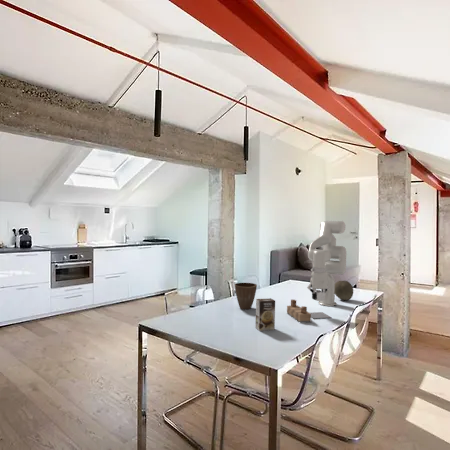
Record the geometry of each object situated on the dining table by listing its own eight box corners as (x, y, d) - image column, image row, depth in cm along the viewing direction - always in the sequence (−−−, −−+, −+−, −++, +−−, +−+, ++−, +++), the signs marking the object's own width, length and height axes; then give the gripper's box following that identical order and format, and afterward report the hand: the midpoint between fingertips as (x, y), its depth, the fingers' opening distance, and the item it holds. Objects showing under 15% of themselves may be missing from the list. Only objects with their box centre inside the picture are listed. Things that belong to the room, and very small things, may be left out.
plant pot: (255, 311, 222) (255, 287, 221) (232, 310, 225) (232, 286, 224) (257, 306, 236) (257, 283, 236) (236, 304, 239) (236, 282, 239)
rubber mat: (305, 313, 219) (305, 312, 219) (322, 313, 221) (322, 312, 221) (313, 319, 207) (313, 318, 207) (331, 318, 210) (331, 317, 210)
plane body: (286, 313, 219) (287, 299, 219) (297, 313, 220) (297, 299, 220) (299, 322, 199) (299, 307, 199) (310, 322, 201) (310, 307, 201)
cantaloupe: (350, 298, 265) (350, 279, 265) (355, 302, 251) (355, 282, 251) (331, 297, 267) (332, 278, 267) (335, 302, 253) (336, 281, 253)
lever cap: (312, 298, 217) (312, 289, 217) (319, 298, 218) (319, 289, 218) (317, 301, 210) (317, 291, 210) (324, 300, 211) (324, 291, 211)
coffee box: (259, 331, 183) (259, 301, 183) (255, 327, 189) (255, 298, 189) (275, 330, 185) (275, 300, 185) (270, 326, 191) (270, 297, 191)
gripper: (308, 271, 209) (308, 301, 209) (334, 271, 212) (333, 300, 212) (303, 269, 216) (303, 298, 216) (328, 269, 219) (327, 297, 219)
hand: (318, 299), depth 214 cm, fingers closed on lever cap, 5 cm apart
